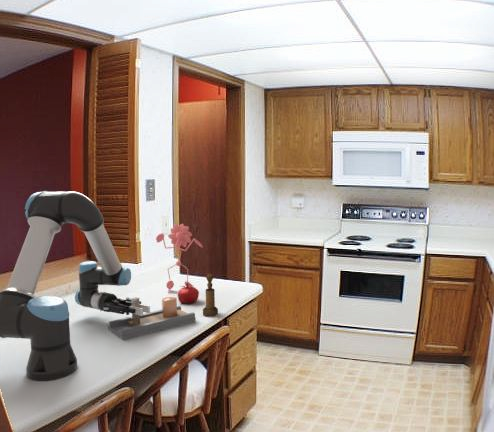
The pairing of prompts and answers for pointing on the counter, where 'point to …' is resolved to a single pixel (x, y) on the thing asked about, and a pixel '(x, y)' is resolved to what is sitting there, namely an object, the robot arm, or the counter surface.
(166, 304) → the canister
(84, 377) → the counter surface
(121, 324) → the track
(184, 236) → the pink branching stem figurine
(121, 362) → the counter surface
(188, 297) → the pomegranate
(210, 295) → the bronze statuette
